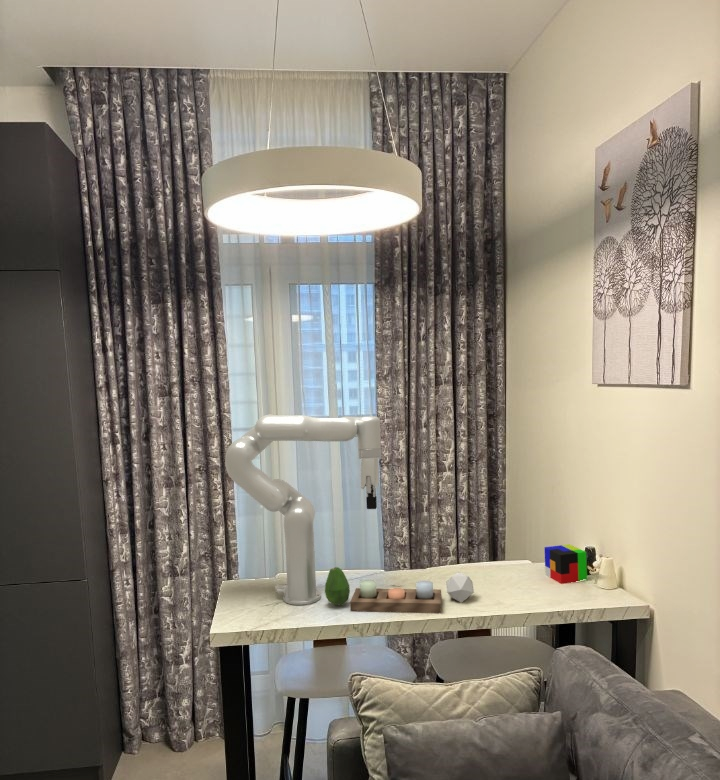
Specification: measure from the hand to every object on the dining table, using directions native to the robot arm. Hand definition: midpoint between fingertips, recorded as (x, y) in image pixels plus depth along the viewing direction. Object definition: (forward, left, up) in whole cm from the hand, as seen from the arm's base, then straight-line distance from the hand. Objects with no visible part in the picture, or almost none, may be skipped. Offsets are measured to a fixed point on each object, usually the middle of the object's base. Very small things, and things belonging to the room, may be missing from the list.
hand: (371, 508), depth 197 cm
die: (+28, -2, -29) cm, 41 cm away
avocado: (-11, -9, -29) cm, 33 cm away
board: (+8, -8, -29) cm, 31 cm away
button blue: (+17, -8, -26) cm, 32 cm away
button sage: (-1, -8, -26) cm, 27 cm away
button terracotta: (+8, -8, -29) cm, 31 cm away
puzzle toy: (+65, +20, -29) cm, 74 cm away
